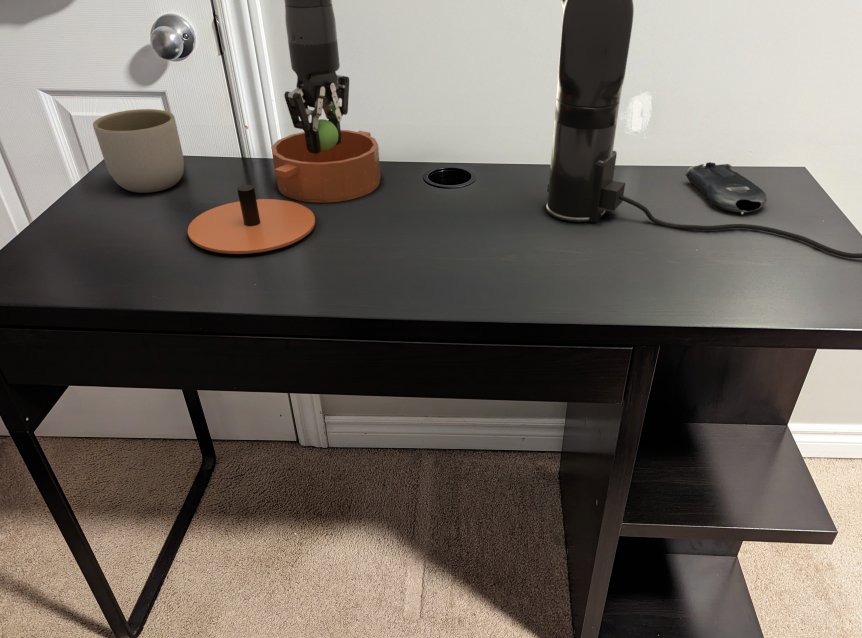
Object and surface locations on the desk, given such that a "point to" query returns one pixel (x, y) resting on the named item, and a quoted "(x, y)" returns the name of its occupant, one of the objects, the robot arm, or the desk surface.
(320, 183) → the pan
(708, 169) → the electronic device
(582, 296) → the desk surface
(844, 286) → the desk surface
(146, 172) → the planter
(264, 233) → the lid
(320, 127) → the ball
